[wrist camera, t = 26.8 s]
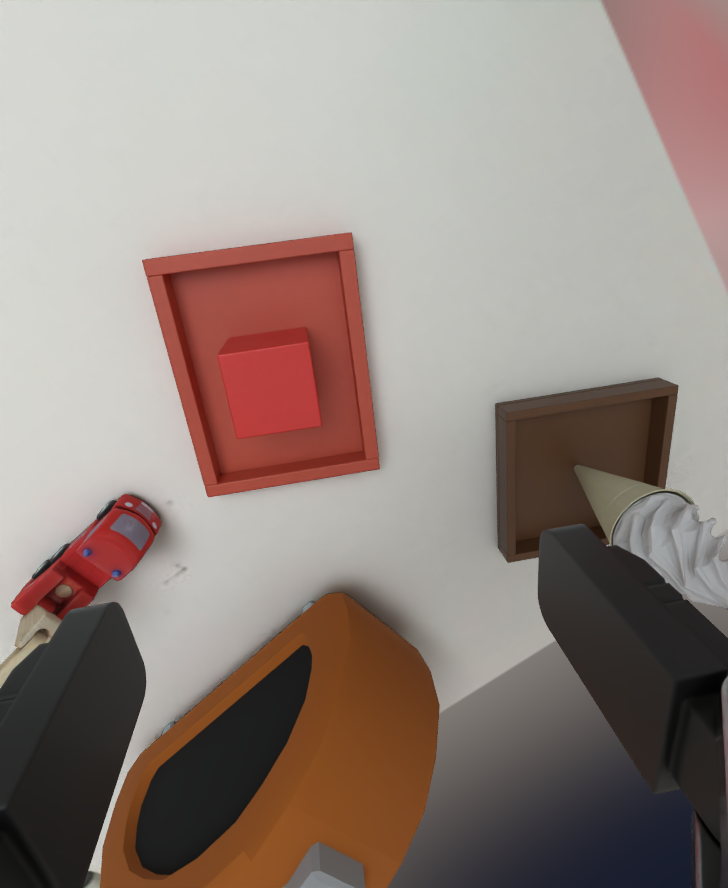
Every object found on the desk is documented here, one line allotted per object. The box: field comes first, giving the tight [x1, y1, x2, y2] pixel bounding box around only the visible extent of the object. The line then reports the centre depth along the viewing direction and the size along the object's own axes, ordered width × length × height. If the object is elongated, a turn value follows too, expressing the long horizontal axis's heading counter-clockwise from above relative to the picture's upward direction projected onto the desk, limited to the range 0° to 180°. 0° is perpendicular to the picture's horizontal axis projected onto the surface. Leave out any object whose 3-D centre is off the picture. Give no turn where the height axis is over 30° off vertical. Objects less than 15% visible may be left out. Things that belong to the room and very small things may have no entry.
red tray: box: [142, 233, 380, 497], centre depth 29 cm, size 14×11×2 cm
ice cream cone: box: [574, 465, 728, 610], centre depth 28 cm, size 5×5×15 cm
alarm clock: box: [100, 592, 439, 888], centre depth 32 cm, size 23×9×17 cm, turn 133°
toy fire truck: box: [0, 494, 161, 687], centre depth 29 cm, size 3×14×10 cm, turn 131°
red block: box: [217, 327, 322, 439], centre depth 27 cm, size 4×4×4 cm
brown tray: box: [495, 378, 678, 563], centre depth 34 cm, size 11×11×2 cm
